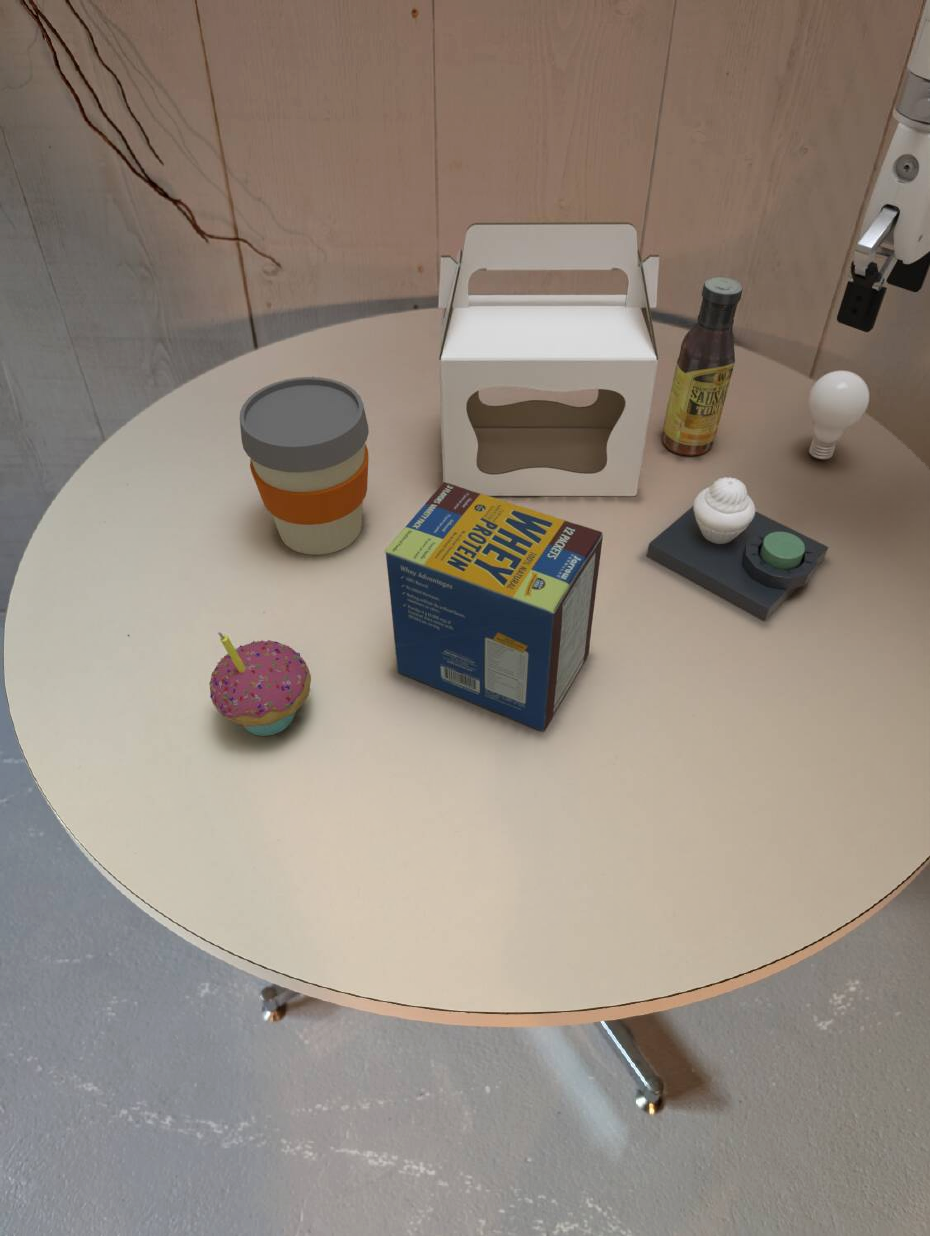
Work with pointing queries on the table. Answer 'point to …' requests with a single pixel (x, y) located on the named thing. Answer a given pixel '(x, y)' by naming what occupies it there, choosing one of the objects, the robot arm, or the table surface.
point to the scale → (735, 563)
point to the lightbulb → (835, 409)
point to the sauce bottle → (703, 371)
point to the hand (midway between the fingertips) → (878, 305)
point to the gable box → (547, 364)
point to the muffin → (723, 510)
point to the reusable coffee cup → (309, 460)
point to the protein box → (493, 602)
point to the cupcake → (260, 685)
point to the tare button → (782, 550)
